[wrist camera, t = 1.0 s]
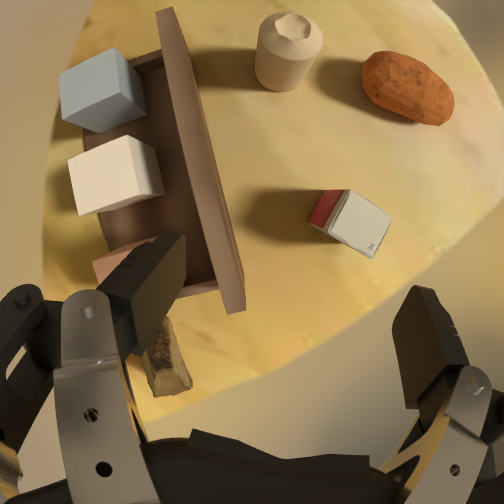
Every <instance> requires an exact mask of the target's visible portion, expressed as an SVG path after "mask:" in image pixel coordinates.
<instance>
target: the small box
mask: <svg viewBox="0 0 504 504" xmlns="http://www.w3.org/2000/svg"><path fill="white" fill-rule="evenodd" d="M392 220H393V218H392V217H391V216H390V215H389V214H387V213H386V212H385V211H384V210H382V209H381V208H379V207H378V206H376V205H375V204H374V203H372V202H371V201H369V200H368V199H366V198H365V197H363V196H361V195H360V194H358V193H356V192H355V191H353V190H325V191H324V193H323V195H322V197H321V198H320V200H319V202H318V204H317V205H316V207H315V209H314V211H313V213H312V215H311V217H310V219H309V221H308V223H309V224H310V225H311V226H313V227H315V228H316V229H318V230H320V231H322V232H323V233H325V234H327V235H329V236H330V237H332V238H334V239H336V240H337V241H339V242H341V243H343V244H345V245H347V246H348V247H350V248H352V249H354V250H356V251H358V252H359V253H361V254H363V255H365V256H366V257H368V258H370V259H373V257H374V255H375V253H376V251H377V250H378V248H379V246H380V244H381V242H382V241H383V238H384V237H385V235H386V233H387V230H388V228H389V226H390V224H391V222H392Z"/></svg>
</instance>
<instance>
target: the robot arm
mask: <svg viewBox="0 0 504 504" xmlns="http://www.w3.org/2000/svg"><path fill="white" fill-rule="evenodd" d="M185 276H186V236H185V235H184V234H179V233H174V232H169V231H162V232H161V233H160V234H159V235H158V236H157V237H156V239H155V240H154V241H153V242H148V241H147V242H145V243H143V244H141V245H139V246H137V247H135V248H134V249H133V250H132V251H131V252H130V253H129V254H128V255H127V257H126V258H124V259H123V260H122V261H121V262H120V265H117V266H116V267H115V269H114V270H113V271H112V272H111V273H110V274H109V275H108V276H107V277H106V278H105V279H104V280H103V281H102V283H101V284H100V285H99V286H98V287H97V288H96V289H95V290H93V289H86V290H81V291H78V292H75V293H73V294H72V295H70V296H69V297H68V298H67V299H66V300H65V302H61V301H50V300H44V298H43V295H42V293H41V290H40V289H39V288H38V287H37V286H35V285H33V284H24V285H21V286H18V287H16V288H14V289H12V290H11V291H10V292H9V293H8V294H7V295H6V296H5V297H4V298H3V299H2V300H1V301H0V504H504V472H503V473H502V474H501V475H500V476H497V477H496V472H495V462H494V455H493V447H492V445H493V444H494V443H496V442H497V441H498V440H500V439H501V438H502V437H504V393H503V392H500V391H497V390H494V389H492V386H491V382H490V380H489V378H488V376H487V375H486V374H485V373H484V372H483V371H482V370H481V369H479V368H478V367H475V366H470V363H469V361H468V358H467V355H466V353H465V350H464V347H463V345H462V342H461V340H460V337H458V333H457V330H456V328H454V323H453V321H452V319H451V316H450V315H449V313H448V312H447V311H446V310H445V309H444V307H443V306H442V305H441V304H440V302H439V299H438V297H437V295H436V293H435V291H434V290H433V289H431V288H426V287H422V286H417V285H414V286H413V287H412V288H411V289H410V291H409V292H408V294H407V296H406V298H405V300H404V302H403V304H402V306H401V307H400V309H399V311H398V313H397V315H396V317H395V319H394V321H393V326H392V335H393V340H394V344H395V349H396V354H397V359H398V364H399V369H400V375H401V380H402V386H403V392H404V398H405V405H406V409H419V413H420V414H419V415H418V416H416V417H415V419H414V420H413V422H412V423H411V425H410V427H409V428H408V430H407V431H406V433H405V435H404V436H403V438H402V439H401V441H400V443H399V444H398V446H397V447H396V448H395V450H394V452H393V453H392V454H391V456H390V457H389V458H388V459H387V460H386V462H385V463H383V464H382V466H380V467H379V468H378V469H376V468H373V467H370V466H369V455H368V456H367V455H340V454H326V455H319V456H312V457H304V458H296V459H281V458H278V457H275V456H273V455H270V454H268V453H266V452H263V451H261V450H259V449H256V448H254V447H252V446H249V445H247V444H245V443H243V442H241V441H239V440H235V439H231V438H226V437H223V436H219V435H214V434H211V433H207V432H204V431H200V430H197V429H192V432H191V435H190V437H189V438H166V439H160V440H155V441H150V442H149V440H148V437H147V434H146V431H145V428H144V426H143V423H142V420H141V417H140V414H139V411H138V408H137V405H136V401H135V397H134V394H133V390H132V386H131V382H130V378H129V374H128V370H127V366H126V362H125V361H126V359H127V357H128V356H129V354H130V353H132V354H135V355H138V356H141V357H142V356H143V354H144V352H145V350H146V349H147V347H148V345H149V343H150V342H151V340H152V338H153V336H154V335H155V333H156V331H157V330H158V328H159V326H160V324H161V323H162V321H163V319H164V318H165V316H166V314H167V313H168V311H169V309H170V308H171V306H172V304H173V303H174V301H175V299H176V298H177V296H178V294H179V293H180V291H181V289H182V287H183V284H184V281H185ZM22 346H23V347H24V348H25V350H26V353H25V354H24V356H23V357H22V358H21V360H20V361H19V363H18V364H17V366H16V367H15V369H14V370H13V372H12V373H11V375H10V376H9V378H8V379H7V380H6V370H7V367H8V365H9V364H10V362H11V361H12V359H13V358H14V357H15V355H16V354H17V352H18V351H19V349H20V348H21V347H22ZM53 386H54V397H55V409H56V418H57V427H58V434H59V441H60V447H61V452H62V458H63V463H64V468H65V472H66V477H67V478H66V479H63V480H60V481H58V482H55V483H52V484H50V485H47V486H44V487H41V488H38V489H35V490H32V491H29V492H26V493H22V494H20V493H19V490H18V481H20V480H21V479H22V477H23V472H22V469H21V468H20V463H19V459H18V456H17V454H18V452H19V450H20V448H21V446H22V444H23V442H24V439H25V438H26V436H27V434H28V432H29V430H30V428H31V426H32V424H33V422H34V420H35V418H36V416H37V415H38V413H39V411H40V409H41V407H42V406H43V404H44V402H45V400H46V398H47V397H48V395H49V393H50V391H51V390H52V388H53Z"/></svg>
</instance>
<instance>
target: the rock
mask: <svg viewBox="0 0 504 504" xmlns="http://www.w3.org/2000/svg"><path fill="white" fill-rule="evenodd" d="M139 357H140V360H141V364H142V365H143V367H144V369H145V372H146V375H147V381H148V384H149V386H150V388H151V390H152V392H153V396H154V398H157V397H161V396H168V395H172V396H174V395H177V394H179V393H181V392H183V391H188V390H190V389H191V388H192V387H193V382H192V378H191V376H190V374H189V372H188V370H187V368H186V366H185V363H184V360H183V358H182V356H181V354H180V351H179V345H178V343H177V340H176V336H175V334H174V331H173V330H172V323H171V321H170V319H169V318H168V317H167V316H165V318H164V319H163V321H162V323H161V324H160V326H159V328H158V330H157V331H156V333H155V335H154V336H153V338H152V340H151V342H150V343H149V345H148V347H147V349H146V350H145V352H144V354H143V356H142V357H141V356H139Z"/></svg>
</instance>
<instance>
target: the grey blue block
mask: <svg viewBox="0 0 504 504" xmlns="http://www.w3.org/2000/svg"><path fill="white" fill-rule="evenodd" d="M59 81H60V100H61V113H62V120H65V121H68V122H70V123H73V124H76V125H78V126H81V127H84V128H86V129H89V130H92V131H94V132H97V133H99V134H100V133H102V132H105V131H107V130H110V129H112V128H114V127H117V126H119V125H122V124H124V123H127V122H130V121H132V120H135V119H138V118H140V117H143V116H146V115H148V113H147V108H146V102H145V97H144V91H143V85H142V79H141V76H140V75H139V74H138V73H137V72H136V71H135V69H134V68H133V67H132V66H131V65H130V64H129V63H128V62H127V60H126V59H125V58H124V57H123V56H122V55H121V54H120V53H119V52H118V51H117V49H116V48H115V47H114V48H112V49H109V50H107V51H105V52H103V53H101V54H98V55H96V56H94V57H92V58H90V59H88V60H86V61H84V62H82V63H80V64H78V65H76V66H74V67H72V68H71V69H69V70H67V71H65V72H63V73H62V74H60V75H59Z"/></svg>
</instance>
